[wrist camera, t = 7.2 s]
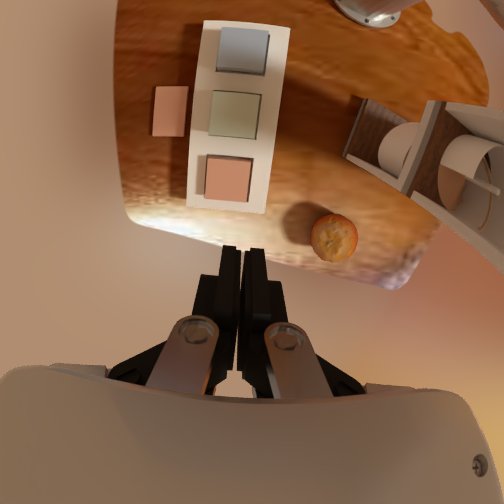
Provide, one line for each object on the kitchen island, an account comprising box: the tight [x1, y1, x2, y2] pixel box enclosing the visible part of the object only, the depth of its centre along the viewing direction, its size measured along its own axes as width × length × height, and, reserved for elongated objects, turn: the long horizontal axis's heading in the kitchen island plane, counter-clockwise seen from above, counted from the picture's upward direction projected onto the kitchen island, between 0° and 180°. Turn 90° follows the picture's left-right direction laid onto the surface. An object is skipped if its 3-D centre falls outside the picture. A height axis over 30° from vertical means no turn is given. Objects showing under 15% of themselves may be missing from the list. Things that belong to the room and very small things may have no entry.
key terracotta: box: [205, 155, 251, 203], centre depth 39 cm, size 6×6×3 cm
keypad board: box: [186, 20, 290, 214], centre depth 36 cm, size 29×12×3 cm, turn 173°
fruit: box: [310, 214, 358, 263], centre depth 44 cm, size 8×8×8 cm
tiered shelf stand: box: [342, 99, 504, 275], centre depth 24 cm, size 11×11×35 cm
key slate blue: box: [216, 27, 269, 74], centre depth 29 cm, size 6×6×3 cm
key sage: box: [209, 91, 260, 139], centre depth 33 cm, size 6×6×3 cm
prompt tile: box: [153, 86, 189, 137], centre depth 36 cm, size 8×5×1 cm, turn 173°
